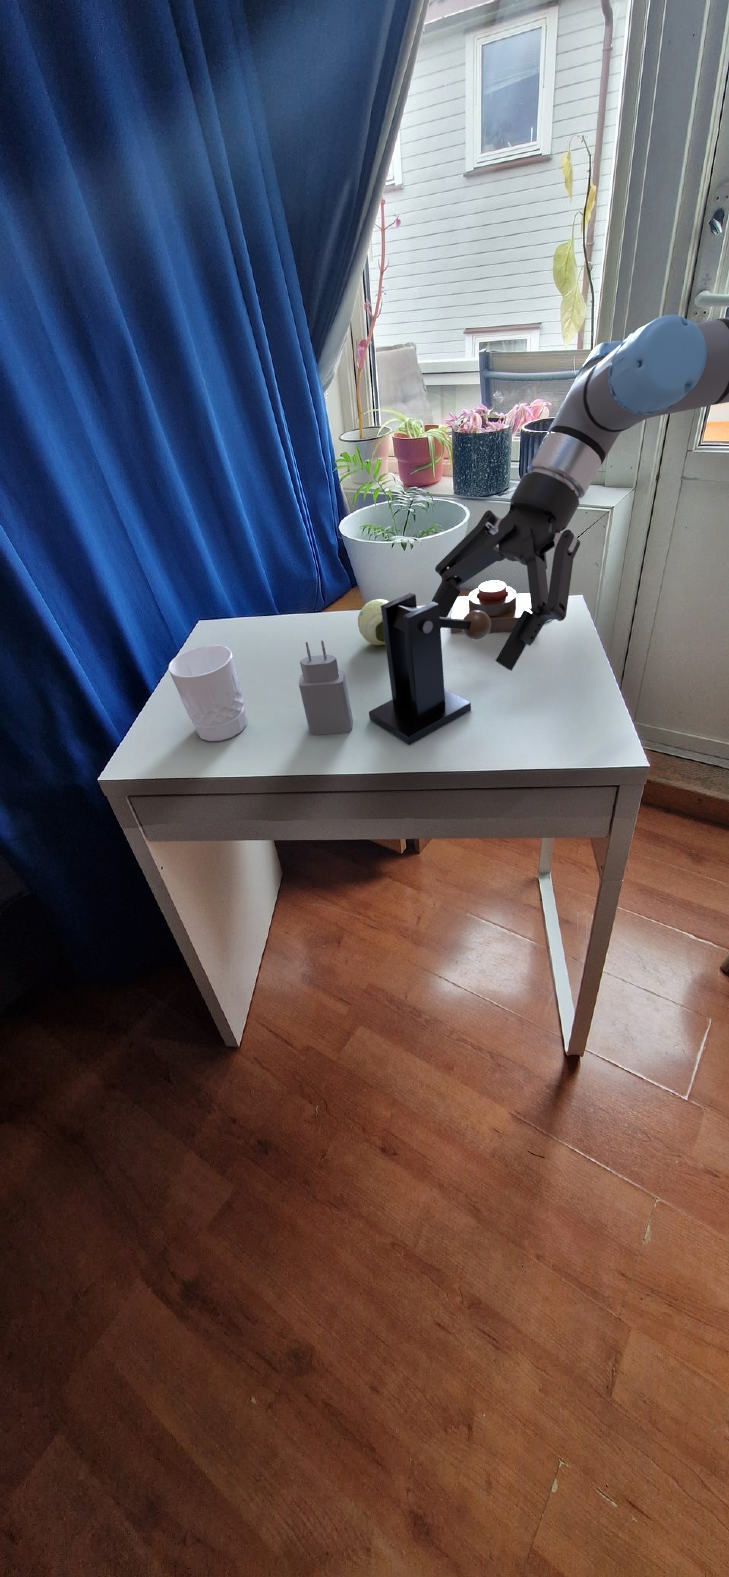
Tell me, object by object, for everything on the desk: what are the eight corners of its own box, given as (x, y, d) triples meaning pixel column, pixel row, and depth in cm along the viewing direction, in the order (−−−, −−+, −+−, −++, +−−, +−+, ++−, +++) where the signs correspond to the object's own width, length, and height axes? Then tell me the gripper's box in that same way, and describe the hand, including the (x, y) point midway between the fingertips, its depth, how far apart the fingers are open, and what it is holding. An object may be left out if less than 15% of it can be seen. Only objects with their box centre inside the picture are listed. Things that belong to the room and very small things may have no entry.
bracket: (429, 687, 87) (420, 580, 77) (471, 710, 81) (467, 598, 72) (369, 719, 83) (352, 610, 73) (409, 745, 77) (396, 631, 68)
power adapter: (312, 721, 84) (293, 637, 77) (353, 718, 83) (338, 633, 76) (308, 735, 82) (289, 649, 74) (351, 732, 81) (335, 645, 73)
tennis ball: (359, 636, 101) (353, 595, 96) (402, 629, 101) (398, 588, 96) (362, 655, 96) (355, 613, 92) (407, 649, 96) (403, 606, 91)
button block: (533, 606, 101) (533, 581, 98) (533, 630, 95) (534, 605, 92) (455, 609, 103) (453, 585, 101) (450, 633, 97) (449, 608, 95)
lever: (471, 635, 84) (480, 607, 82) (492, 644, 81) (500, 615, 80) (388, 630, 75) (395, 598, 73) (407, 639, 72) (415, 607, 71)
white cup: (257, 708, 88) (238, 642, 82) (243, 743, 82) (222, 674, 76) (202, 712, 90) (179, 646, 83) (185, 746, 84) (159, 679, 77)
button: (506, 591, 98) (506, 579, 97) (505, 602, 95) (505, 591, 94) (479, 592, 99) (479, 581, 98) (478, 604, 96) (477, 592, 95)
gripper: (656, 521, 72) (555, 693, 76) (494, 488, 88) (418, 630, 92) (631, 484, 66) (524, 671, 70) (463, 456, 83) (384, 608, 87)
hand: (463, 648), depth 81 cm, fingers open, 13 cm apart
